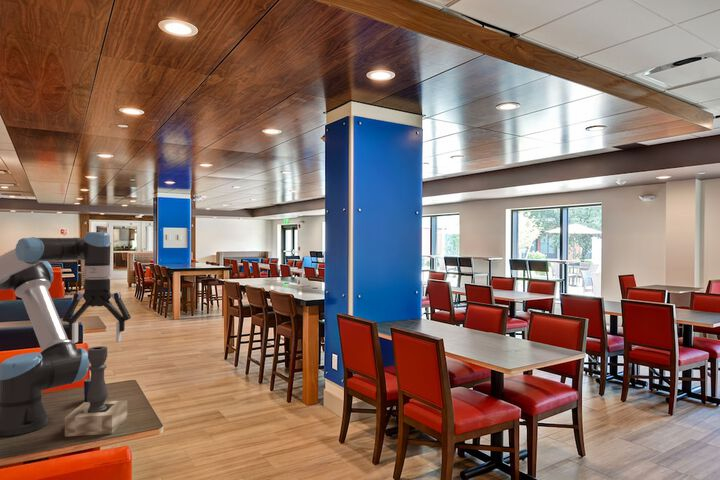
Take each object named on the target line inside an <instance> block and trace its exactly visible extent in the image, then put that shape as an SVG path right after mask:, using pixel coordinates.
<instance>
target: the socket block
mask: <svg viewBox="0 0 720 480" xmlns="http://www.w3.org/2000/svg"><path fill="white" fill-rule="evenodd" d="M104 404H105V406H107V410H106V412H98V413H88V409H89V407H90V406H91V405H90V402H84V401H83V402H82V403H81V404H80V405H78V406H77V407H76V408H75V409H74V410H73V411H71V412H70V413H69V414H68V415H66V416H64V437H78V436H94V435H95V436H96V435H113V433H114V432H115V431H116V430H117V429H118V428H119V427H120V426H121V425H122V424H123V423H124V421H125V420H126V419H127V418H128V399H127V400H126V399H125V400H105V403H104Z"/></svg>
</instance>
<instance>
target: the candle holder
mask: <svg viewBox="0 0 720 480" xmlns="http://www.w3.org/2000/svg"><path fill="white" fill-rule="evenodd" d="M87 353H88V359H89V365H90V366H89V367H88V371H90V378H91V382H90V386H89V390H88V393H87V400H88V401H89V402H90V405H91V406H90V407H89V409H88V413H98V412H106V410H107V406H105V404H104V403H105V401H107V398H108V396H109V392H108V389H107V385H106V381H105V380H106V379H105V370H106V369H107V364H105V363H106V362H107V358H108V346H104V345H103V346H93V347H89V348H87Z"/></svg>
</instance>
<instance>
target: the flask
mask: <svg viewBox="0 0 720 480" xmlns="http://www.w3.org/2000/svg"><path fill="white" fill-rule="evenodd" d="M90 382H91V377H89V378H86V379H84V381H83V391H84V393H83V395H84V396H83V397H84V398H83V399H84V401H83V403H84V402H89V401H88V400H87V393H88V390H89V386H90Z"/></svg>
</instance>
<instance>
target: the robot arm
mask: <svg viewBox="0 0 720 480" xmlns="http://www.w3.org/2000/svg"><path fill="white" fill-rule="evenodd" d="M111 244H112V243H111V236H110V233H108V232H105V231H102V232H101V231H97V232H96V231H88V232H87V231H86V232H85V233H84V236H83V237H36V236H34V237H33V236H32V237H23V238H20V239H19V240H17V242H16V245H15V248H13V249H12V250H11V249H10V251H9V250H8V252H5V253H3V254H1V255H0V291H4V290H5V291H6V290H13V292H14V294H15V296H16V297H17V298H20V299H22V302H23V305H24V308H25V310H26V313H27V315H28V318H29V320H30V323H31V326H32V328H33V331H34V334H35V337H36V338H37V341H38V344H39V347H40V349H41V350H40V352H37V351H36V352H28V353H21V354H17V355H14V356H11V357H9V358H6V359H5V360H3V361H2V362H1V363H0V437H11V436H12V435H14V436H19V435H23V434H27V433H31V432H34V431H37V430H40V429H42V428H43V427H45V426H46V425H47V424H48V422H49V415H48V413H47V410H46V408H45V405H44V403H43V398H42V397H43V395H42V393H43V392H42V391H46V390H49V389H53V388H57V387H61V386H66V385H72V384H74V383H76V382H80V381H82V380H83V379H84V378H85V377H86V375H87V373H88V371H89V367H90V366H89V365H90V362H89V359H88V350H86V349H85V348H83V347H79V348H78V347H77V344H76V343H78V342H79V322H78V321H77V320H78V319H79V318H80V317H81V316H82V315H83V314H84V312H85V311H86V310H87V309H88V308H89V307H91V308H92V307H104V308H106V309H107V310H108V312H109V313H111V315H112V316H113V317H114V318H115V319H116V320H117V322H115V323H116V324H115V326H116V327H115V328H116V331H115V332H116V333H115V342H116V343H119V342H121V341H122V340H123V338H122V336H123V335H122V332H124V331H125V324H126V321H128V320H130V319H131V314H130V313H129V311H128V309H127V307H126V306H125V304H124V302H123V300H122V297H121V296H122V295H121V292H120V291H117V292H111V279H110V277H111ZM79 260H80V261H83V262H84V266H83V267H84V272H83V273H84V275H83V276H84V278H85V279H84V280H83V281H84V282H83V283H84V285H83V287H84V289H83V290H84V292H83V293H81V292H76V293H75V292H74V294H73V297H72V302H71V303H70V304H69V307H68V309H67V310H66V312H65V315H63V318H62V321H61V318H60V315H59V313H58V311H57V309H56V306H55V303H54V300H53V299H52V297H51V294H50V292H49V289H50V288H51V286H52V285H51V284H52V283H53V281H54V270H53V267H52V265H51V263H50V262H55V261H79ZM111 298H112V300H114V301H115V304H116V306H117V307H118V309H119V310H118V309H117V308H116V307H115V306H114V305H113V303H112V302H111ZM83 299H84V301H85V302H84V303H83V304H82V305H81V306H80V308H79V309H78V310H77V311H76V312H75V310H76V309H77V307H78V305H79V303H80V301H81V300H83ZM63 322H67V323H68V327H69V328H68V330H69V331H68V333H70V334H71V339H69V338H68V335H67V333H66V331H65V328H64V325H63ZM12 437H13V436H12Z"/></svg>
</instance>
